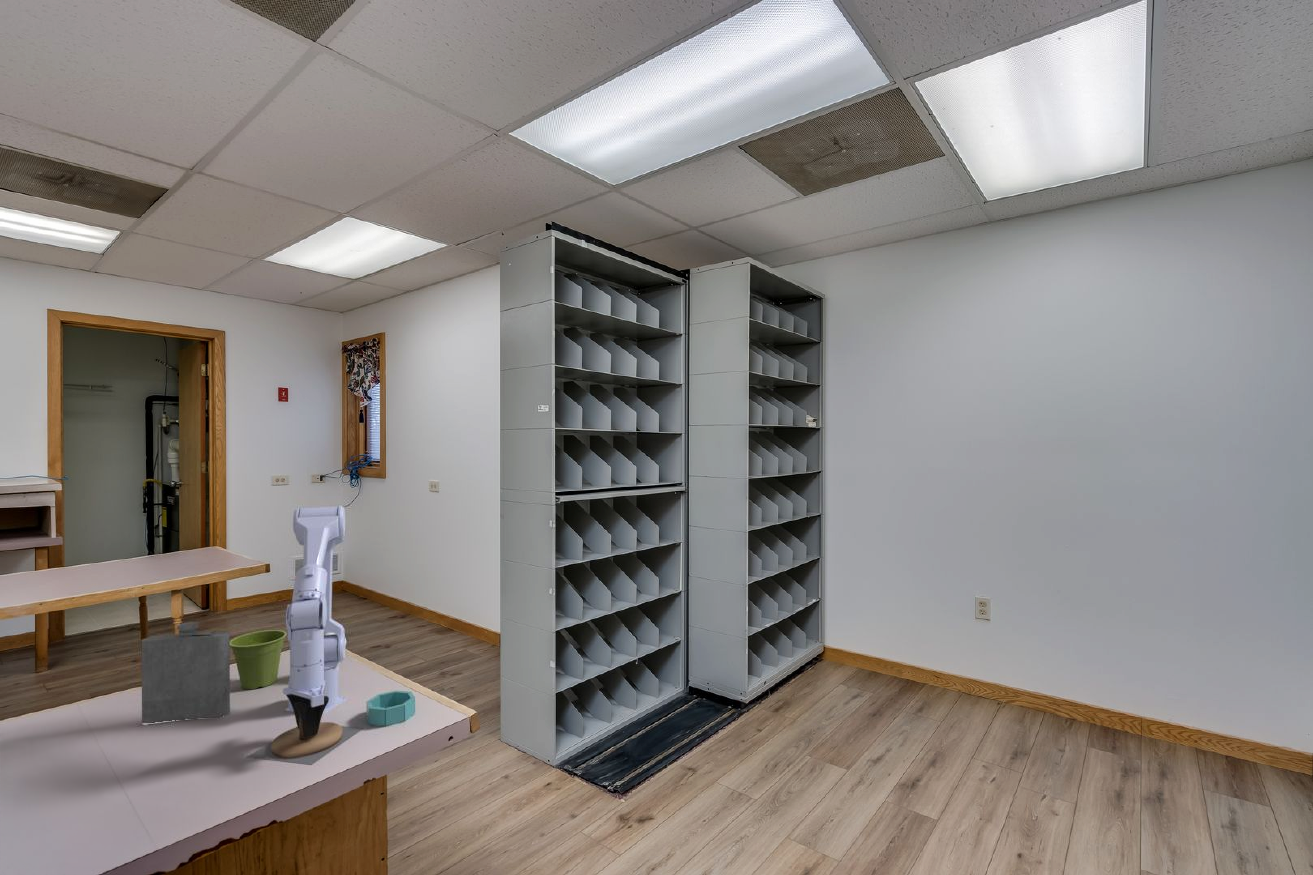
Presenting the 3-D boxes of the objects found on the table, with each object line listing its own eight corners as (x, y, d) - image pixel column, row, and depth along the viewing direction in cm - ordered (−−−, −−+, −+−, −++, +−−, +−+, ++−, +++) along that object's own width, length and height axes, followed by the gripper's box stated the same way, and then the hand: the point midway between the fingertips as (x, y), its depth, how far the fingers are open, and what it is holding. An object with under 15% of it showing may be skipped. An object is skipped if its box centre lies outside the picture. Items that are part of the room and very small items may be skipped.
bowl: (357, 726, 126) (357, 707, 126) (385, 707, 135) (385, 689, 135) (396, 730, 124) (396, 710, 124) (422, 710, 133) (422, 692, 133)
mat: (246, 758, 113) (246, 756, 113) (304, 724, 127) (304, 722, 127) (311, 766, 110) (311, 764, 110) (363, 730, 124) (363, 728, 124)
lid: (255, 754, 114) (255, 728, 114) (304, 724, 125) (304, 700, 125) (311, 760, 111) (311, 733, 111) (355, 729, 123) (355, 705, 123)
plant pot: (241, 677, 152) (240, 631, 152) (294, 672, 155) (293, 628, 155) (219, 696, 141) (219, 647, 141) (277, 691, 143) (276, 643, 143)
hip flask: (138, 726, 126) (137, 629, 126) (149, 717, 130) (149, 624, 130) (226, 717, 130) (225, 623, 130) (234, 709, 134) (233, 618, 134)
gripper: (274, 657, 121) (275, 725, 121) (293, 677, 110) (293, 752, 110) (314, 648, 126) (314, 714, 126) (335, 667, 115) (336, 739, 115)
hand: (307, 731), depth 118 cm, fingers open, 4 cm apart
